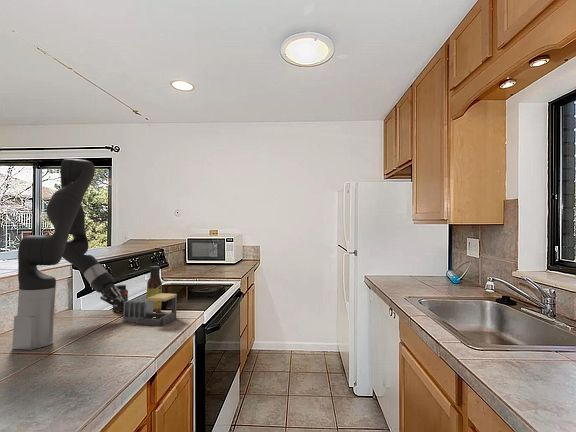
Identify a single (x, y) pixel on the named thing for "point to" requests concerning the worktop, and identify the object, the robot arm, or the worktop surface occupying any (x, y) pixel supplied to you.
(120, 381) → the worktop surface
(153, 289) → the sauce bottle
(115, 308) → the supplement bottle
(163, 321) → the grey and yellow stand
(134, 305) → the heatsink block
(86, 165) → the robot arm
